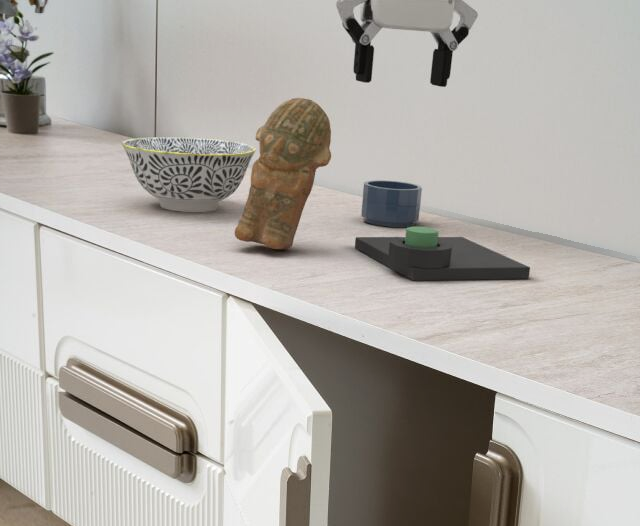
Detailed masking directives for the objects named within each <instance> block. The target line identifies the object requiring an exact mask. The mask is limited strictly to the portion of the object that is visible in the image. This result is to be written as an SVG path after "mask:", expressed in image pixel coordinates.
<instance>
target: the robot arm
mask: <svg viewBox="0 0 640 526" xmlns="http://www.w3.org/2000/svg"><path fill="white" fill-rule="evenodd" d="M359 5H360V8H359V18H360V21H361V24H360V23H359V22H358V20H357V19H356V17H355V13H354V9H355V8H356V7H357V6H359ZM335 6H336V9H337V12H338V15H339V17H340V20H341V22H342V27H343V29H344V30H345V31H346V33H347V34H348V35H349V37H350V38H351V41H352V43H353V44H354V58H353V69H352V70H353V73H354V74H355V80H356V81H357V82H361V83H368V84H369V83H370V82H372V78H373V68H374V55H375V47H374V45H372V44H371V43H372V40H373V39H375V36H377V35H378V33H380V31H381V30H382V29H391V30H403V31H416V32H429V33H430V34H431V36H432V37H433V40H434V41H435V43H436V44H437V48H434V50H433V52H432V61H431V70H430V79H429V80H430V81H429V82H430V84H431V85H432V86H437V87H440V88H446V87H447V85H448V80H449V79H450V78H451V71H452V60H453V53H454V52H455V51H456V50H457V49H458V47H459V45H460V44H461V43H462V42H463V41H464V40H465V39H466V38H467V37H468V36H469V33H470V30H471V29H472V28H473V26H474V24H475V22H476V20H477V19H478V16H479V15H478V14H479V13H478V12H477V10H475V9H474V8H472V6H471V5H469V4H468V3H466V2H465V1H463V0H337V1H336V3H335ZM454 13H456V14H457V15H458V16H459V20H458V23H457V25H456V26H455V27H454V28H453V29H452V30H451V29H450V28H451V26H452V24H453V19H454Z"/></svg>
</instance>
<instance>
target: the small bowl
mask: <svg viewBox="0 0 640 526" xmlns="http://www.w3.org/2000/svg"><path fill="white" fill-rule="evenodd" d="M422 191H423V188H422V186H421V185H419V184H415V183H411V182H406V181H397V180H380V179H379V180H378V179H377V180H376V179H375V180H368V181H364V182H363V189H362V200H361V201H362V203H361V216H360V217H362V218H364V222H365V223H368V224H370V225H374V226H378V227H385V228H386V227H387V228H408V227H414V225H415V223H416V222H418V221H419V219H420V212H421V211H420V210H421V202H422Z"/></svg>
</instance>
